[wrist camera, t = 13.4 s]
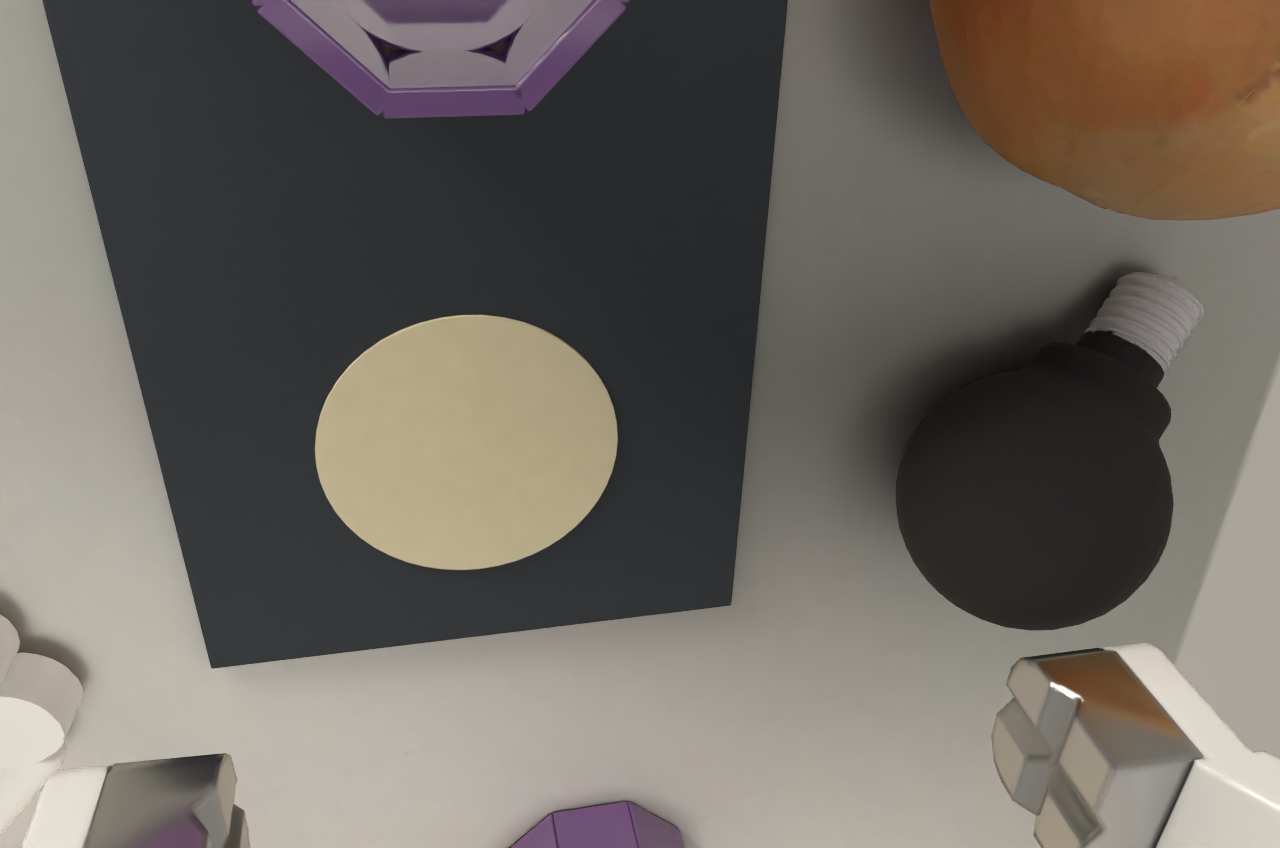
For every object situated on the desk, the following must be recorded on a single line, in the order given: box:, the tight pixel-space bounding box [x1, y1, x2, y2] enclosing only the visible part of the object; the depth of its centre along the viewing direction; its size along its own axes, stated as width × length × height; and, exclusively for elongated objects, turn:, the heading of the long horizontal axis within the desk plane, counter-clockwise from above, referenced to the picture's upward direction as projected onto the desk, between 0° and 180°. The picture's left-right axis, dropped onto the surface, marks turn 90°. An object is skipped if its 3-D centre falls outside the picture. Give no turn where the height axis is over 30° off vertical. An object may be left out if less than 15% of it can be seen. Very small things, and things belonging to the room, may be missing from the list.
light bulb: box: [896, 272, 1204, 630], centre depth 26 cm, size 6×6×10 cm
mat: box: [43, 0, 788, 668], centre depth 22 cm, size 14×24×1 cm, turn 179°
